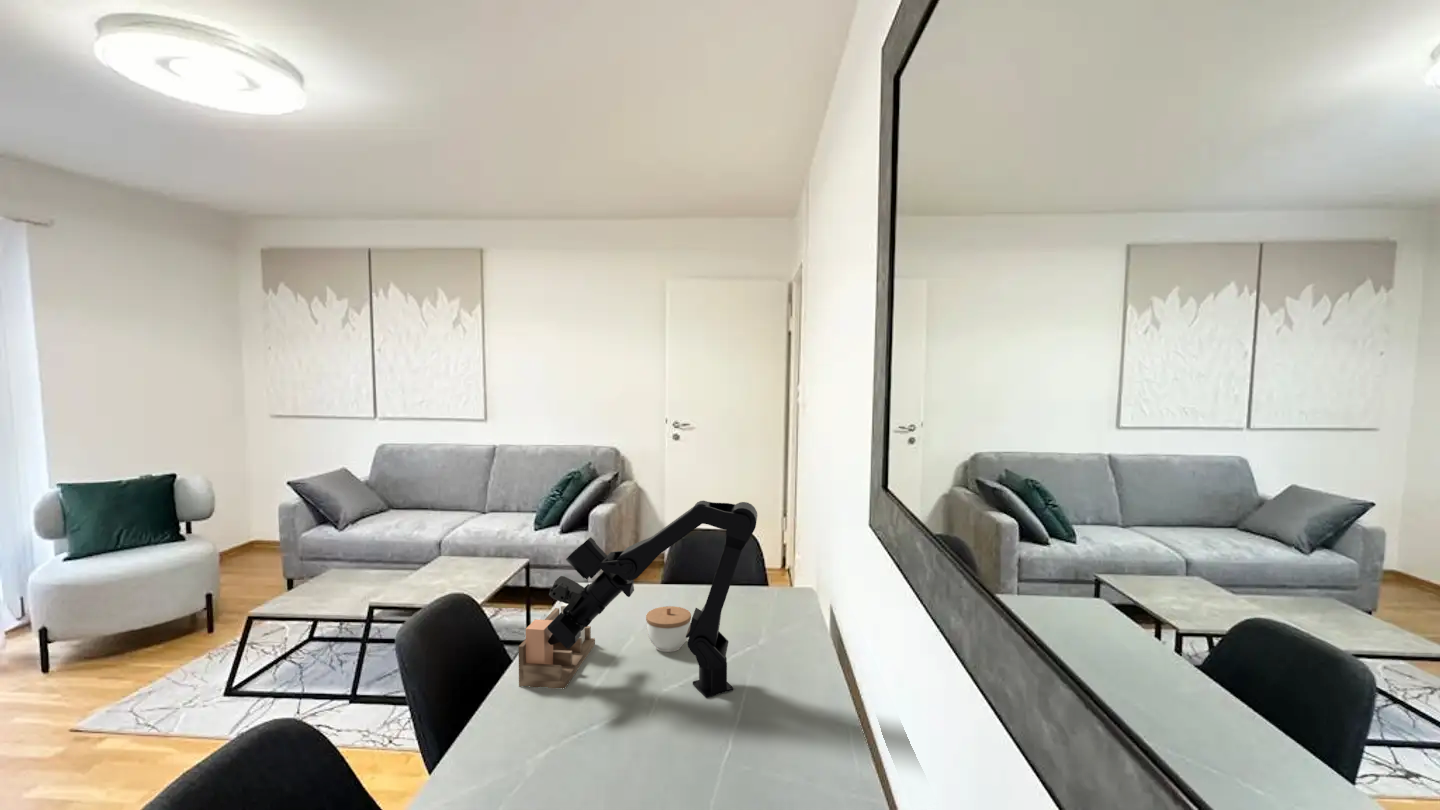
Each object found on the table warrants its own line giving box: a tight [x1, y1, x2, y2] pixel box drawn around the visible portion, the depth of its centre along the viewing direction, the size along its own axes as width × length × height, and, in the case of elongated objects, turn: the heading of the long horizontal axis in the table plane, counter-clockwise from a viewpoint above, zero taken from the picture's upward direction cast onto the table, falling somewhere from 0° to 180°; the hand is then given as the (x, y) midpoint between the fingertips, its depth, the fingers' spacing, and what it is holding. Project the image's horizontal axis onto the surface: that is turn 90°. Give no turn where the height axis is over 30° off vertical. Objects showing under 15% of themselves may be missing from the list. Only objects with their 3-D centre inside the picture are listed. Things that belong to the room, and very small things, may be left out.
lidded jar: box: [645, 605, 692, 653], centre depth 144 cm, size 11×11×9 cm
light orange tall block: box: [525, 618, 553, 665], centre depth 129 cm, size 4×5×10 cm
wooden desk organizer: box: [518, 607, 596, 690], centre depth 135 cm, size 10×21×8 cm, turn 174°
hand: (549, 642), depth 128 cm, fingers closed, pressing on light orange tall block
